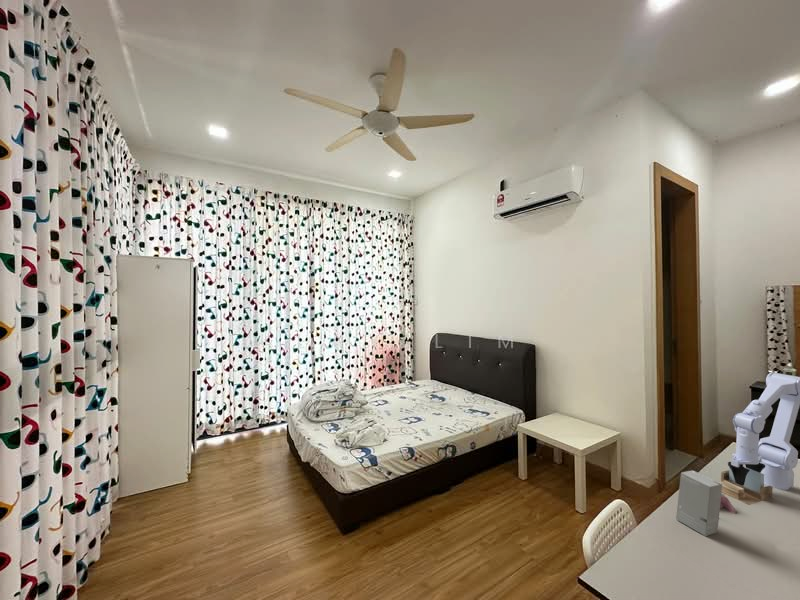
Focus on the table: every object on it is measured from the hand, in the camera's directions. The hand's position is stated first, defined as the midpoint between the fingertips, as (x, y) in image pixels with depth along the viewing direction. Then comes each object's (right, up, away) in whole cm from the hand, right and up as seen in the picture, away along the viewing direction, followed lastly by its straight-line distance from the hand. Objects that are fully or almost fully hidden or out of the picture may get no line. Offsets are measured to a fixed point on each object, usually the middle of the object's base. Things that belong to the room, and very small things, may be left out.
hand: (745, 482), depth 124 cm
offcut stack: (-8, -3, -3) cm, 9 cm away
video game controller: (-22, -4, -11) cm, 25 cm away
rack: (-4, -4, -1) cm, 6 cm away
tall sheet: (0, -3, 0) cm, 3 cm away
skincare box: (-35, -4, -19) cm, 40 cm away
